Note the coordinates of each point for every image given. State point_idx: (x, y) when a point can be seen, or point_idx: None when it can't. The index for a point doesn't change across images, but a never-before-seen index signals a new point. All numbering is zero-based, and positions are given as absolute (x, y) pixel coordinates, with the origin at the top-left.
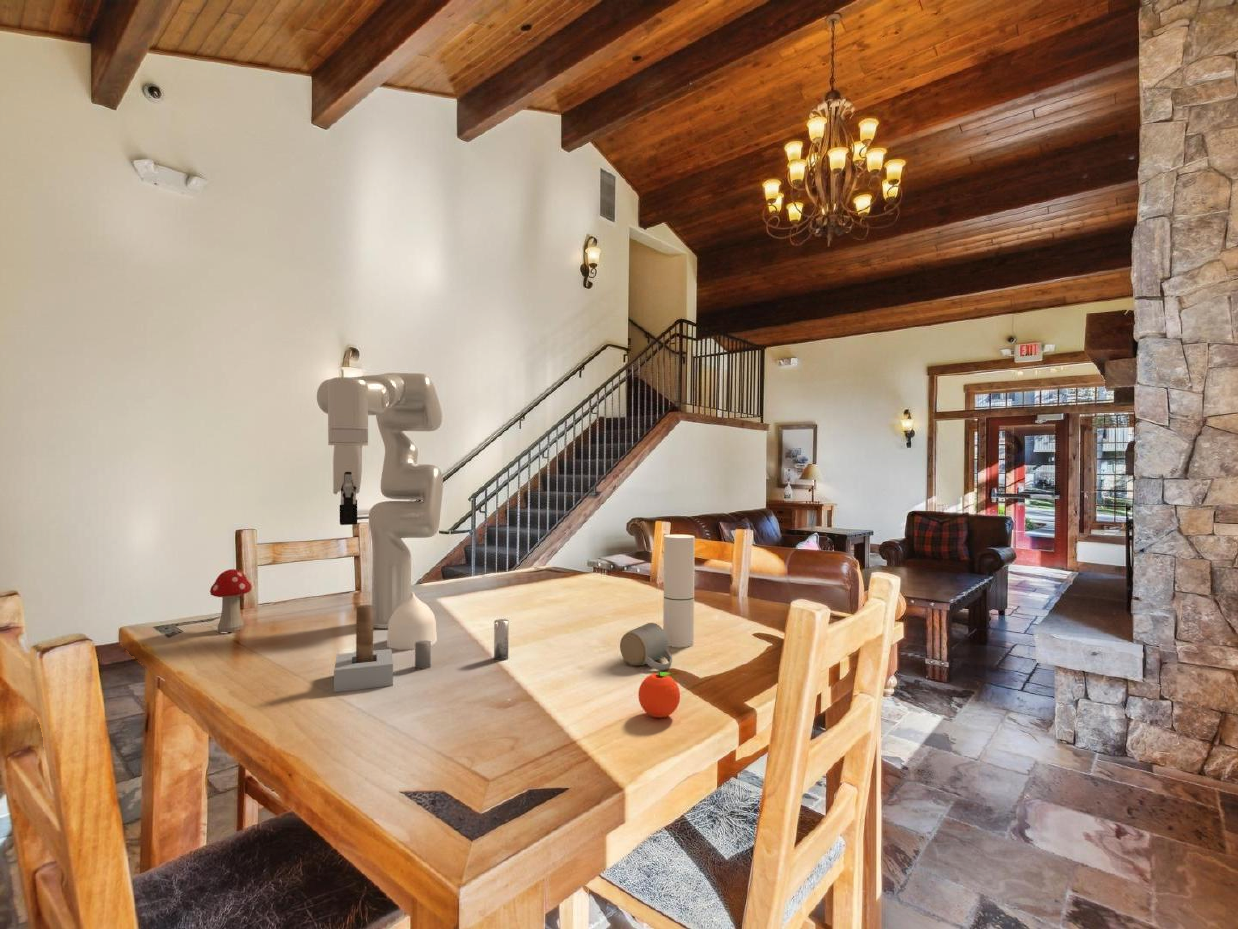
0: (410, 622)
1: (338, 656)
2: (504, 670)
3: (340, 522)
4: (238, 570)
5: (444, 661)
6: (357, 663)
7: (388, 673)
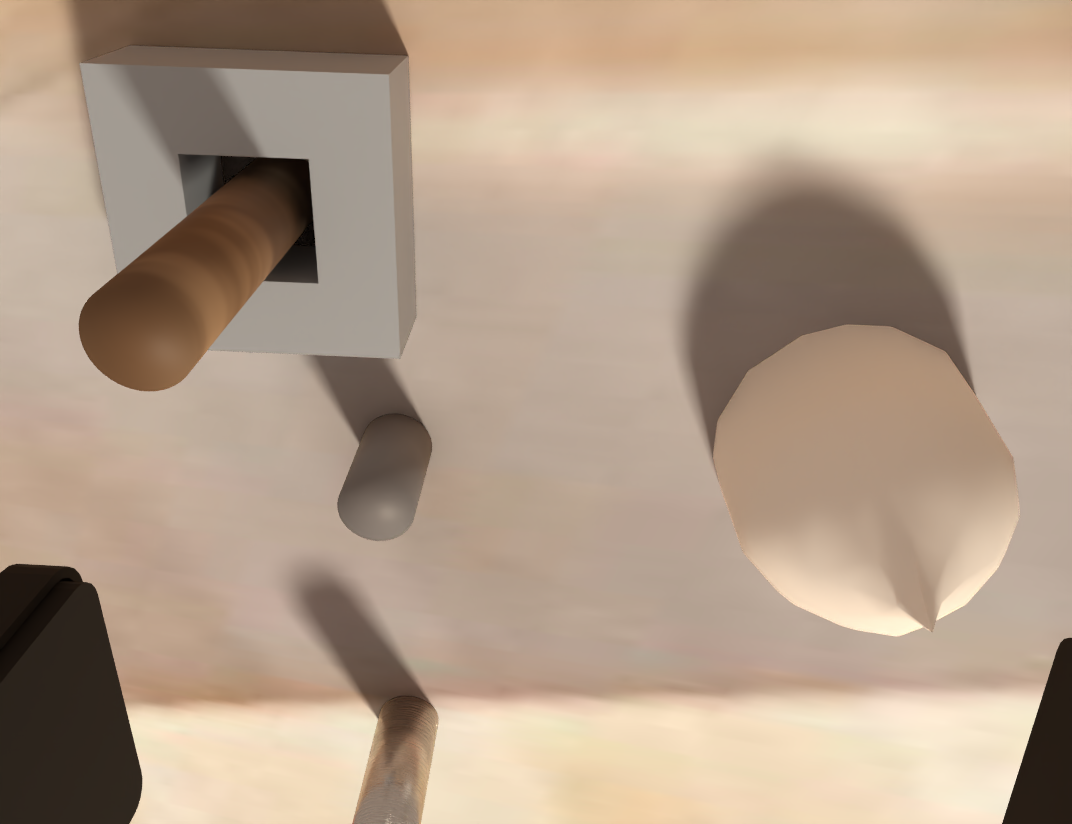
0: (754, 502)
1: (339, 83)
2: (254, 697)
3: (2, 592)
4: None
5: (449, 533)
6: (174, 184)
7: None
